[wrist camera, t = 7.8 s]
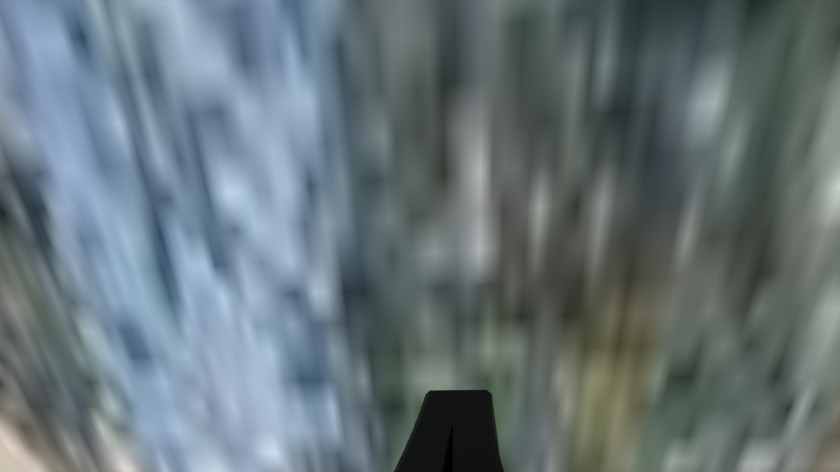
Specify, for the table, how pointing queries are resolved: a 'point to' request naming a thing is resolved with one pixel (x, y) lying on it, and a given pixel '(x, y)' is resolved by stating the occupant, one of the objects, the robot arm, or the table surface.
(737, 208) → the table surface
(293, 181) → the table surface
